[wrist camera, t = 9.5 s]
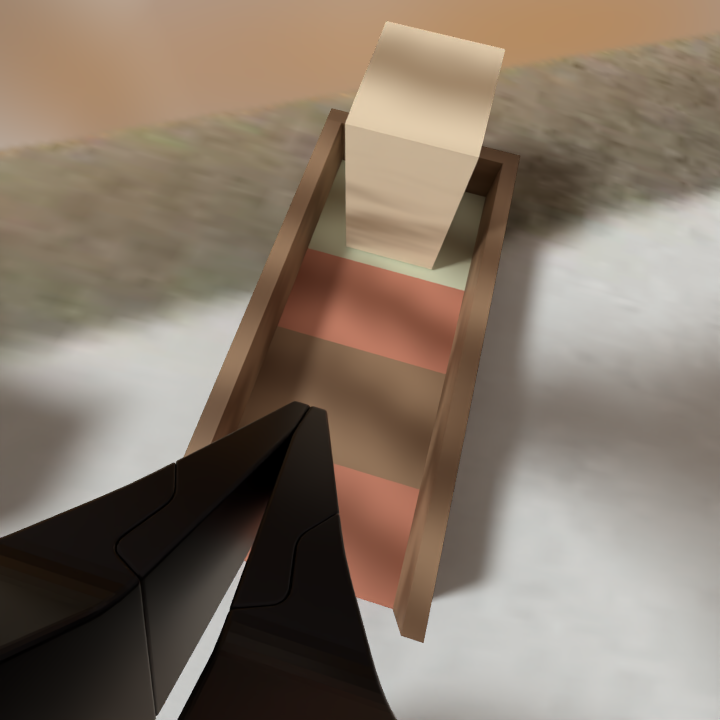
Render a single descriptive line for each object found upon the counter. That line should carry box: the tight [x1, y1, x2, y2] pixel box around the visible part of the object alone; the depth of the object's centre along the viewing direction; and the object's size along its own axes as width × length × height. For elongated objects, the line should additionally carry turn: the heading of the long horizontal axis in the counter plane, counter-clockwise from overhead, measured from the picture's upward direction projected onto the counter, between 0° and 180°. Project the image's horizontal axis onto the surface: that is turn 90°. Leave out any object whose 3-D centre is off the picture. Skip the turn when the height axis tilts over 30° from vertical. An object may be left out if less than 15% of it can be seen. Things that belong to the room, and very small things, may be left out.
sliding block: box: [345, 21, 505, 269], centre depth 21 cm, size 7×6×9 cm
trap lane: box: [184, 109, 520, 643], centre depth 21 cm, size 28×13×4 cm, turn 164°
